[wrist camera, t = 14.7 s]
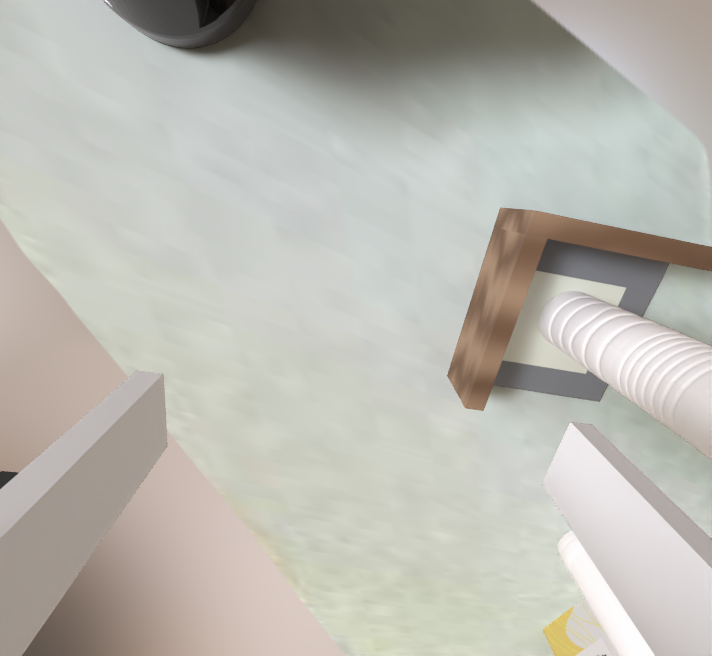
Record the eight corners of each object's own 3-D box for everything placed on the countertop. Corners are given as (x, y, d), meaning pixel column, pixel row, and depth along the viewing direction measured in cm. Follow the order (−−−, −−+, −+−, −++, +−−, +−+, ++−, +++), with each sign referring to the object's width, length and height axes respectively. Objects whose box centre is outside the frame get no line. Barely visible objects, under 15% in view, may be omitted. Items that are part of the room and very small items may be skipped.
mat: (511, 230, 37) (514, 231, 36) (664, 261, 39) (670, 262, 38) (462, 378, 43) (464, 380, 43) (596, 399, 45) (599, 402, 44)
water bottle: (576, 278, 38) (935, 407, 15) (604, 318, 40) (964, 491, 17) (509, 328, 40) (734, 512, 17) (539, 365, 42) (780, 578, 19)
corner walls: (500, 207, 36) (534, 210, 30) (673, 243, 38) (742, 253, 31) (447, 375, 43) (465, 408, 36) (596, 399, 45) (638, 434, 38)
